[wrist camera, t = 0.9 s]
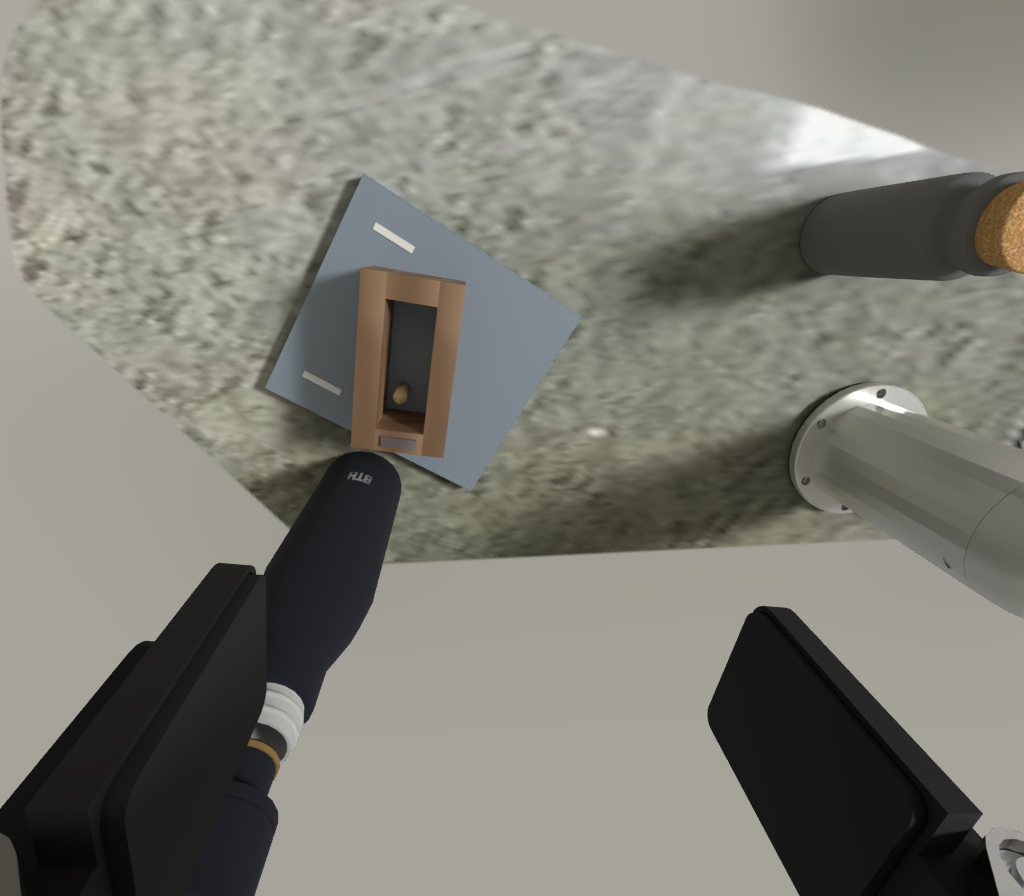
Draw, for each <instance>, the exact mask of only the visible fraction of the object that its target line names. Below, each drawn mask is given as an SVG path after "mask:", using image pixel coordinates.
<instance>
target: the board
mask: <svg viewBox="0 0 1024 896" xmlns="http://www.w3.org/2000/svg"><path fill="white" fill-rule="evenodd" d="M369 266H378V267H384V268H390V269H395V270H401V271H407V272H413V273H419V274H424V275H430V276H436V277H442V278H447V279H453V280H459V281H465V283H466V288H465V295H464V303H463V311H462V319H461V326H460V334H459V342H458V349H457V357H456V365H455V373H454V380H453V388H452V396H451V404H450V411H449V419H448V427H447V434H446V442H445V450H444V458H436V457H428V456H419V455H411V454H402V453H396V454H398V455H400V456H402V457H404V458H406V459H408V460H410V461H412V462H414V463H416V464H418V465H420V466H422V467H424V468H426V469H428V470H430V471H432V472H434V473H436V474H438V475H440V476H442V477H444V478H446V479H448V480H450V481H452V482H454V483H456V484H458V485H460V486H462V487H464V488H466V489H468V490H470V491H471V490H472V488H473V487H474V485H475V484H476V482H477V480H478V479H479V477H480V476H481V474H482V473H483V471H484V470H485V468H486V466H487V465H488V463H489V462H490V460H491V459H492V457H493V455H494V454H495V452H496V451H497V449H498V448H499V446H500V444H501V443H502V441H503V440H504V438H505V437H506V435H507V433H508V432H509V430H510V429H511V427H512V426H513V424H514V422H515V421H516V419H517V418H518V416H519V415H520V413H521V411H522V410H523V408H524V407H525V405H526V404H527V402H528V400H529V399H530V397H531V396H532V394H533V393H534V391H535V389H536V388H537V386H538V385H539V383H540V382H541V380H542V378H543V377H544V375H545V374H546V372H547V371H548V369H549V367H550V366H551V364H552V363H553V361H554V360H555V358H556V356H557V355H558V353H559V352H560V350H561V349H562V347H563V345H564V344H565V342H566V341H567V339H568V338H569V336H570V334H571V333H572V331H573V330H574V328H575V327H576V325H577V323H578V322H579V320H580V319H581V317H582V316H580V315H579V314H577V313H576V312H574V311H572V310H571V309H569V308H568V307H566V306H565V305H563V304H562V303H560V302H559V301H557V300H556V299H554V298H553V297H551V296H550V295H548V294H547V293H545V292H544V291H542V290H540V289H539V288H537V287H536V286H534V285H533V284H531V283H530V282H528V281H527V280H525V279H524V278H522V277H521V276H519V275H518V274H516V273H515V272H513V271H512V270H510V269H508V268H507V267H505V266H504V265H502V264H501V263H499V262H498V261H496V260H495V259H493V258H492V257H490V256H489V255H487V254H486V253H484V252H483V251H481V250H480V249H478V248H476V247H475V246H473V245H472V244H470V243H469V242H467V241H466V240H464V239H463V238H461V237H460V236H458V235H457V234H455V233H454V232H452V231H451V230H449V229H448V228H446V227H444V226H443V225H441V224H440V223H438V222H437V221H435V220H434V219H432V218H431V217H429V216H428V215H426V214H425V213H423V212H422V211H420V210H419V209H417V208H416V207H414V206H412V205H411V204H409V203H408V202H406V201H405V200H403V199H402V198H400V197H399V196H397V195H396V194H394V193H393V192H391V191H390V190H388V189H387V188H385V187H384V186H382V185H380V184H379V183H377V182H376V181H374V180H373V179H371V178H370V177H368V176H367V175H365V174H364V173H363V175H362V178H361V180H360V182H359V184H358V186H357V189H356V191H355V193H354V195H353V197H352V199H351V202H350V204H349V206H348V208H347V210H346V212H345V215H344V217H343V219H342V221H341V223H340V226H339V228H338V230H337V232H336V234H335V236H334V239H333V241H332V243H331V245H330V247H329V249H328V252H327V254H326V256H325V258H324V260H323V263H322V265H321V267H320V269H319V271H318V273H317V276H316V278H315V280H314V282H313V284H312V286H311V289H310V291H309V293H308V295H307V297H306V300H305V302H304V304H303V306H302V308H301V310H300V313H299V315H298V317H297V319H296V321H295V323H294V326H293V328H292V330H291V332H290V334H289V336H288V339H287V341H286V343H285V345H284V347H283V350H282V352H281V354H280V356H279V358H278V360H277V363H276V365H275V367H274V369H273V371H272V373H271V376H270V378H269V380H268V382H267V384H266V387H265V388H266V389H268V390H270V391H272V392H274V393H276V394H278V395H280V396H282V397H284V398H286V399H288V400H290V401H292V402H294V403H296V404H298V405H300V406H302V407H304V408H306V409H308V410H310V411H312V412H314V413H316V414H318V415H320V416H322V417H324V418H326V419H328V420H330V421H332V422H334V423H336V424H338V425H340V426H342V427H344V428H346V429H348V430H350V431H352V413H353V395H354V378H355V360H356V342H357V324H358V307H359V289H360V271H361V267H369ZM437 308H438V307H433V306H427V305H421V304H415V303H409V302H403V301H396V300H395V303H394V316H393V328H392V340H391V352H390V365H389V377H388V389H387V402H386V408H390V409H397V410H405V411H413V412H420V413H426V407H427V398H428V389H429V380H430V371H431V362H432V353H433V344H434V335H435V326H436V317H437Z"/></svg>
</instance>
